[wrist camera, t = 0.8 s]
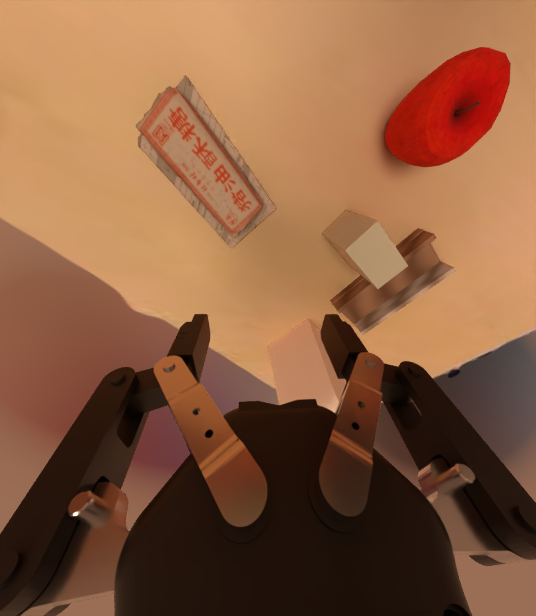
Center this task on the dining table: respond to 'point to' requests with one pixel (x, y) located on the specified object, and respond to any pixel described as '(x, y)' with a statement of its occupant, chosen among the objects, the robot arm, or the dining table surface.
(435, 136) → the apple
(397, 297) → the wooden tray
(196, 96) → the packaged product
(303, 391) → the milk
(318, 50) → the dining table surface
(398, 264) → the carton
